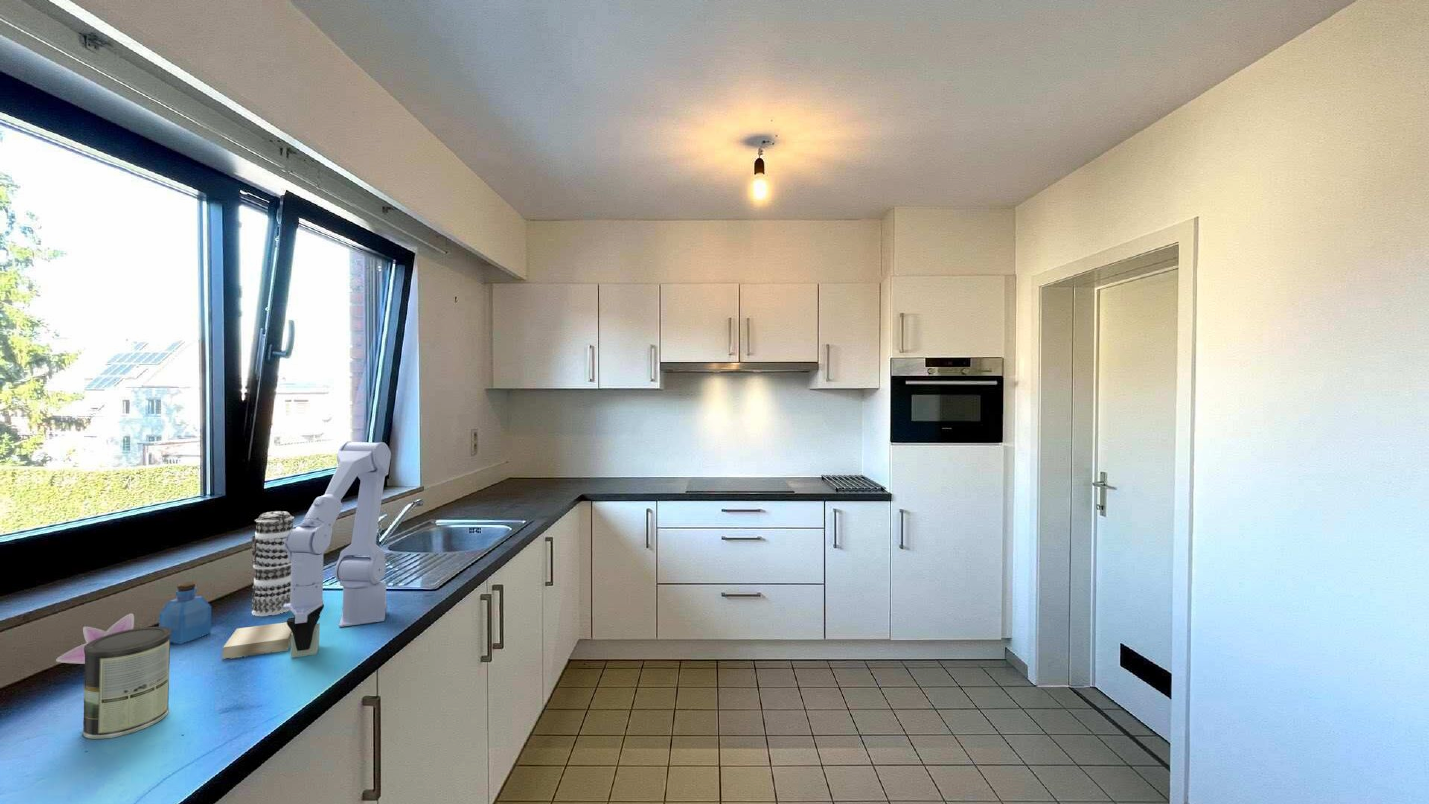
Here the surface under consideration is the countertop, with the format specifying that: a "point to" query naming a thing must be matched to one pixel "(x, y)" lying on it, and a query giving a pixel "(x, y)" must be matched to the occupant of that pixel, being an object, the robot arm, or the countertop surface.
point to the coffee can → (126, 682)
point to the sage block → (313, 646)
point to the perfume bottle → (186, 615)
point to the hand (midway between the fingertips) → (305, 645)
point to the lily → (92, 634)
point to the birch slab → (258, 640)
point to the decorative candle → (271, 564)
